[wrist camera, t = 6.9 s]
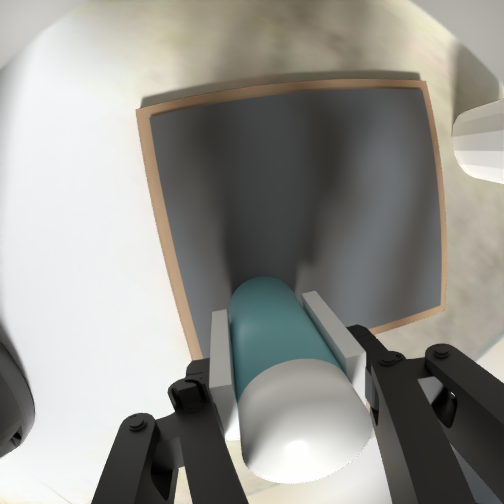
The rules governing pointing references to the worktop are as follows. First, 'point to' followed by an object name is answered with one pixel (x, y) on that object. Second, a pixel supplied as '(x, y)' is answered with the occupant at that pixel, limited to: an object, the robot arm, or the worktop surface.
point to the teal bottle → (290, 389)
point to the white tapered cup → (481, 141)
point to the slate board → (300, 198)
